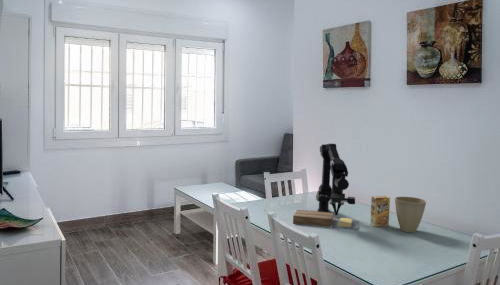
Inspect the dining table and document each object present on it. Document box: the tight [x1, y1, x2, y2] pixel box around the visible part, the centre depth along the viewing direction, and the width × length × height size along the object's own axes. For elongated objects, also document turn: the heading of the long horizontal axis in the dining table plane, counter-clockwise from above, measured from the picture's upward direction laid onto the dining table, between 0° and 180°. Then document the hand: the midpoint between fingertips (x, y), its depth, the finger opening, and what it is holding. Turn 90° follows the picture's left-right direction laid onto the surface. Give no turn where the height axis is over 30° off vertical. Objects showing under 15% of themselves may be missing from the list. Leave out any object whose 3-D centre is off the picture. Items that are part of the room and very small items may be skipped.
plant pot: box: [394, 196, 427, 233], centre depth 216 cm, size 15×15×16 cm
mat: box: [331, 218, 360, 231], centre depth 224 cm, size 16×13×1 cm
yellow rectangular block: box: [339, 217, 353, 227], centre depth 224 cm, size 9×6×2 cm, turn 164°
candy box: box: [369, 195, 391, 227], centre depth 224 cm, size 9×4×15 cm, turn 107°
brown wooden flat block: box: [292, 209, 335, 228], centre depth 228 cm, size 14×20×4 cm
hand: (336, 215), depth 225 cm, fingers closed
